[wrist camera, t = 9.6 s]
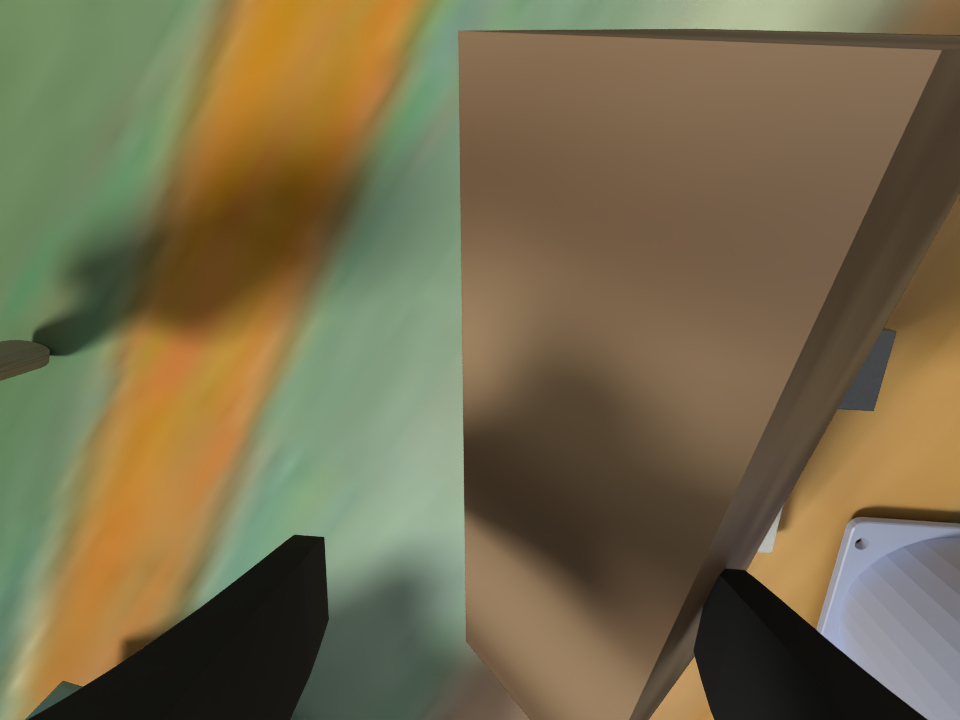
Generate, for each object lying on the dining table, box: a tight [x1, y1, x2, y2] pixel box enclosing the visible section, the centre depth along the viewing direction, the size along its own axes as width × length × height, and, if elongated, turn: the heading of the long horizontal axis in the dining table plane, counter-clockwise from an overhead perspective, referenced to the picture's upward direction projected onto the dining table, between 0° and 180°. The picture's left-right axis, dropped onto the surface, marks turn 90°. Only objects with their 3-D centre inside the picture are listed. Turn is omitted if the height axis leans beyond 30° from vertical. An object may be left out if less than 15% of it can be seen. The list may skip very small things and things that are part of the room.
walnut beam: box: [458, 29, 960, 720], centre depth 11 cm, size 16×5×6 cm
